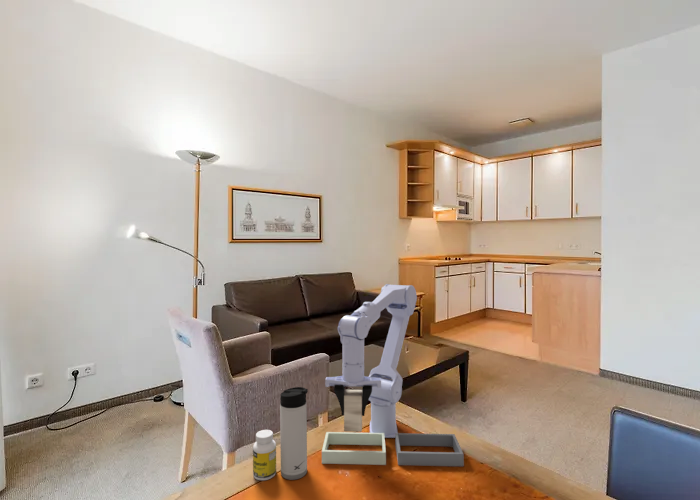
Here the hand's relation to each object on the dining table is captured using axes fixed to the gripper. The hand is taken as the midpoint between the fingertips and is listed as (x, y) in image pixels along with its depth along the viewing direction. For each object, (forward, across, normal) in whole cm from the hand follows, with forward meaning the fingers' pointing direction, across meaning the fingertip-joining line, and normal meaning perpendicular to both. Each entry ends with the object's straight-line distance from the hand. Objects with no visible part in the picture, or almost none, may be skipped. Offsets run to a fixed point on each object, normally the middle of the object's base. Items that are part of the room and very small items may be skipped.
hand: (353, 414), depth 97 cm
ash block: (+3, 0, 0) cm, 3 cm away
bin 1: (+10, 0, 0) cm, 10 cm away
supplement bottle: (+11, -21, -9) cm, 25 cm away
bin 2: (+10, +19, 0) cm, 22 cm away
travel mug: (+11, -14, -8) cm, 19 cm away
